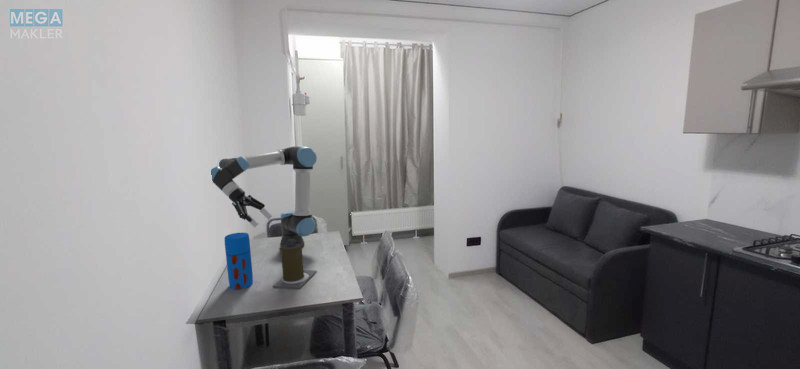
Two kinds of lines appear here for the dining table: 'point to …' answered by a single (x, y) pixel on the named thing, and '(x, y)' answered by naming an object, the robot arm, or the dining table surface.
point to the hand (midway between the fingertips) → (263, 221)
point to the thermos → (238, 260)
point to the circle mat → (295, 284)
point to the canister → (292, 260)
